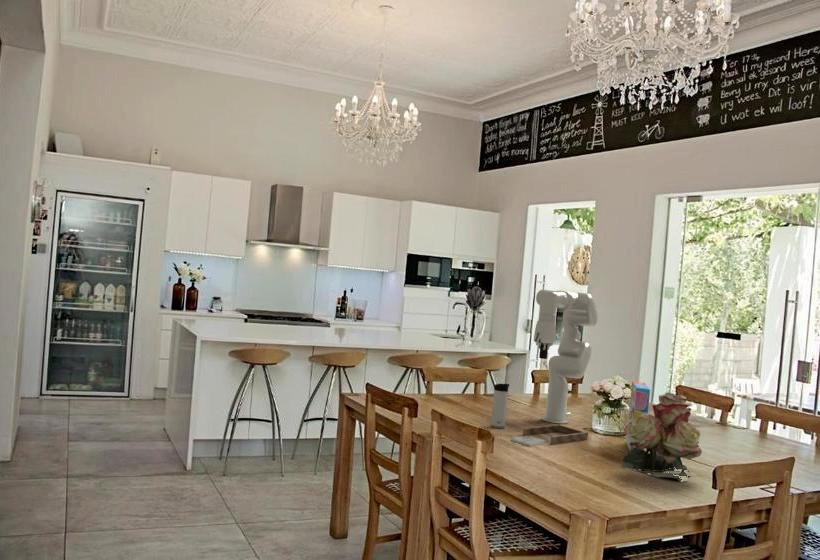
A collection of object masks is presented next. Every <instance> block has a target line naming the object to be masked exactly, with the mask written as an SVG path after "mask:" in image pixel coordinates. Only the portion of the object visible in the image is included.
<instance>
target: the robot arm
mask: <svg viewBox="0 0 820 560" xmlns="http://www.w3.org/2000/svg"><path fill="white" fill-rule="evenodd" d="M535 301H536V304H537V305H538V306H539V309H538V310H539V311H538V320H537V321H536V325H535V328H534V335H533V342H534V343H535V345H536V346H538V349H539V355H538V357H539V359H543V360H548V351H549V349H550V347H552V346H554V343H555V341H556V317H557V309H563V312H562V313H563V314H562V323H563V324H562V325H563V334H562V335H563V336H562V338H561V340H560V342H559V346H558V348H557V354H558V355H554V356H553V355H552V356H551V357H550V358H549V360H548V365H547V366H548V367H547V368H548V385H547V386H548V387H547V397H546V406H545V415H543V416H542V417H541V420H542V421H545V422H546V423H551V424H558V425H565V424H568V423H569V419H567V418H568V417H571V416H572V413H571V412H567V406H568V405H567V402H568V394H569V384H568V381H567V379H566V378H571V379H581V378H583V377H584V375H585V373H586V370H587V367H588V365H589V362H590V360H591V355H592V347H591V344H590V343H588V342H586V341H581V339H582V335H581V332H580V331H579V329H578V328H577V327H576V326H582V327H590V328H591V327H595V326H596V325H597V323H598V321H599V320H598V318H599V316H598V311H597V306H596V303H595V299H594V297H593V296H592V294H590V293H586V292H585V293H584V292H576V291H567V290H548V289H539V290H538V292H537V293H536V296H535Z"/></svg>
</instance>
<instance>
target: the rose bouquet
mask: <svg viewBox="0 0 820 560" xmlns="http://www.w3.org/2000/svg"><path fill="white" fill-rule="evenodd" d="M686 399H687V396H683V395H682V394H678V395H677V394H675V393H672V392H665V393H664V394H660V395H658V401H659V403H657V404H652V405H651V407H652V409H653V414H650V413H649V412H648V413H643V414H641V415H640V416H638V417H637V418H636V419H635V420H633V421H631V422H630V423H629V424H628V423H627V424H626V426H625V428H624V429H623V431H624V433H625V434H626V435H627V434H628V436H629V438H630V440H631V441H632V442H634V443H632V442H631V443H630V445H631V446H634V445H635V446H636V448H633V449H632V450H629V451H627V453H626V455H625V456H623V457H624V458H622V462H621V463H622V465H621V467H623V468H624V469H628V471H629V472H630V470H632V471H634V472H641V473H644V474H645V475H647V476H650V477H654V478H669V479H670V478H672V479H676V480H677V481H678V482H680V481H681V480H682V479H680V478H681V477H680V478H679V476H686V477H687V475H688V474H686V473H685V472H684V470H688V468H687V466H686V465H684V464H683V461H682V459H681V458H684V459H685V460H690V461H691V460H692V459H694V458H699V457H700V456H701V455H702V452H703V450H702V449H701V447H700V445H699V443H700V441H699V439H700V438H701V432H700V431H699V429H697V428H696V425H694V424H691V422H689V417H690V416H691V415H692V413H691V411H693V410H692V408H691V407H690V404H689V403H687V402H686V401H685V400H686ZM643 449H644V450H643ZM645 449H646V450H645ZM630 451H631V452H630ZM674 467H675V468H676V469H677V470H678V469H682V471H681V472H680V471H669V468H673V469H675V468H674ZM634 469H635V470H634ZM639 469H641V470H642V469H650V470H648V471H640V470H639ZM665 469H668V471H669V473H668V472H667V473H666V472H665V473H657V472H658V471H653V472H651V470H661V471H660V472H664V471H665ZM673 469H672V470H673ZM662 470H664V471H662ZM646 473H650V474H651V475H652V476H651V475H648V474H646ZM673 474H674V475H679V476H674V475H673ZM680 483H681V482H680Z"/></svg>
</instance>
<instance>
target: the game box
mask: <svg viewBox="0 0 820 560" xmlns="http://www.w3.org/2000/svg"><path fill="white" fill-rule="evenodd" d="M650 394H651V389H650V388H649V386H648V385H647V384H646V383H644V382H638V381H632V382H631V388H630V398H629V410H628V417H627V418H628V420H627V424H629V423H630V422H631V421H633V420H635V419H636V418H637V417H638V416H640V415H641V414H643V413H648V414H649V406H650V405H649V404H650ZM631 442H632V441H631V440H630V438H629V436H628V434H627V433H626V440H625V443H626V445H627V447H628V450H629V452H631V451H630V450H632V449H633V448H636V446H635V445H634V446H631V445H630V443H631ZM632 443H634V442H632ZM643 450H645V449H643Z"/></svg>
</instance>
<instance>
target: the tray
mask: <svg viewBox="0 0 820 560" xmlns="http://www.w3.org/2000/svg"><path fill="white" fill-rule="evenodd" d="M522 431H523V432H522V436H532V437H535V438H539V439H542V440H546V441H547V443H546V444H549V445H559V444H561V445H562V444H567V443H574V442H581V441H587V440H588V437H589V436H588V435H589V433H588V432H586V431H583V430H580V429H575V428H572V427H569V426H565V425H563V424H551V425H542V426H534V427H524V428H523V430H522Z"/></svg>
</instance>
